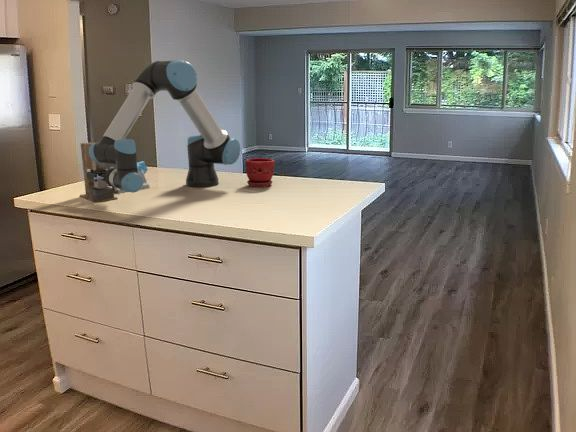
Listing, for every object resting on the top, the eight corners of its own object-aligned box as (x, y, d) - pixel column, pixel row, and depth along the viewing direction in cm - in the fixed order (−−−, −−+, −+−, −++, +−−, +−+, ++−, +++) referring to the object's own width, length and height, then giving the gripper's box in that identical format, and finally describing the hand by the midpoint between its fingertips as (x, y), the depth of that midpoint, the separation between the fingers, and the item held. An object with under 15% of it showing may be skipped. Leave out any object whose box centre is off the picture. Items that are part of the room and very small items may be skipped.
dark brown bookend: (117, 199, 237) (112, 144, 232) (95, 202, 231) (89, 146, 226) (101, 193, 250) (96, 141, 244) (79, 196, 244) (74, 143, 238)
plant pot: (269, 188, 254) (268, 161, 251) (241, 187, 258) (240, 161, 255) (278, 183, 266) (278, 157, 263) (252, 182, 270) (251, 157, 267)
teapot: (143, 184, 271) (141, 161, 268) (111, 184, 270) (109, 162, 267) (148, 178, 285) (147, 157, 283) (118, 179, 284) (116, 157, 282)
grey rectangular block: (108, 197, 237) (104, 159, 233) (99, 199, 235) (95, 160, 231) (104, 196, 240) (101, 158, 236) (95, 197, 238) (91, 159, 234)
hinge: (118, 193, 248) (112, 171, 248) (113, 196, 251) (107, 174, 251) (150, 188, 260) (144, 166, 260) (145, 190, 263) (139, 169, 263)
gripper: (96, 190, 217) (74, 183, 234) (139, 184, 228) (115, 177, 245) (94, 171, 215) (72, 165, 233) (138, 166, 226) (114, 160, 244)
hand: (94, 171), depth 239 cm, fingers open, 5 cm apart
